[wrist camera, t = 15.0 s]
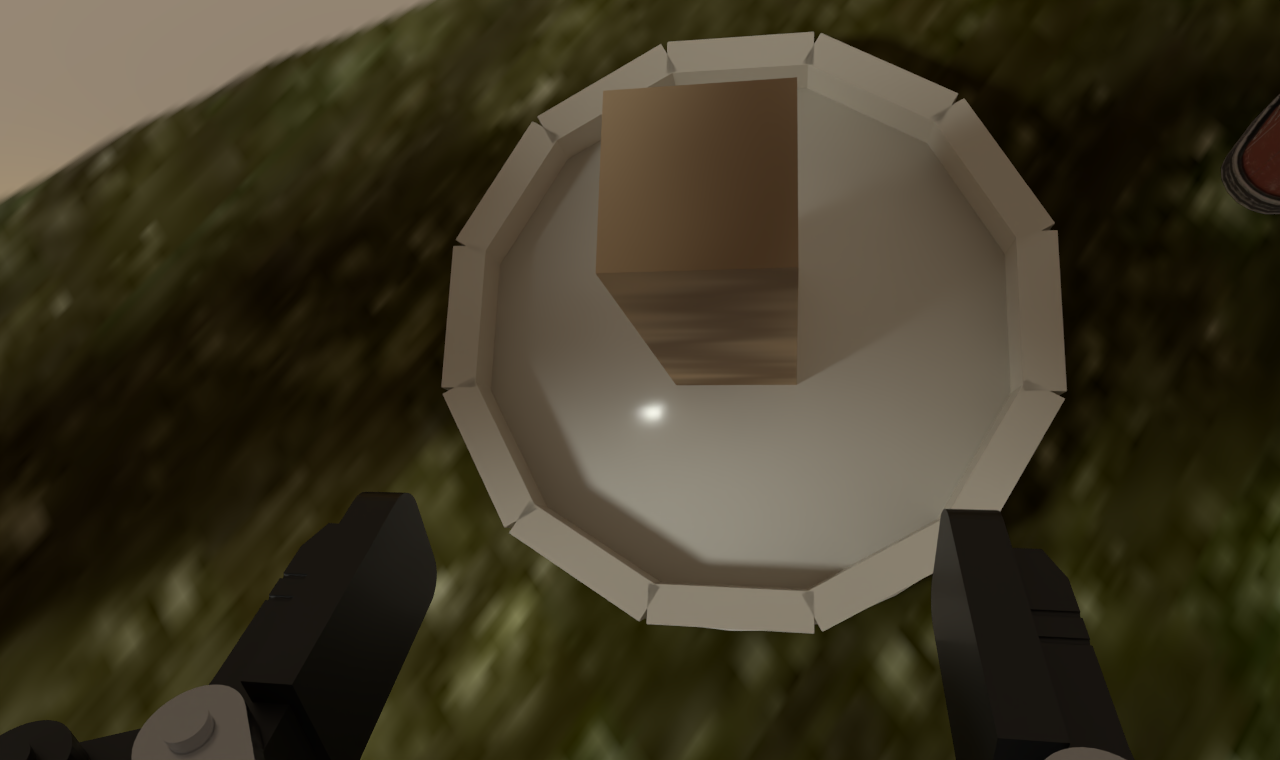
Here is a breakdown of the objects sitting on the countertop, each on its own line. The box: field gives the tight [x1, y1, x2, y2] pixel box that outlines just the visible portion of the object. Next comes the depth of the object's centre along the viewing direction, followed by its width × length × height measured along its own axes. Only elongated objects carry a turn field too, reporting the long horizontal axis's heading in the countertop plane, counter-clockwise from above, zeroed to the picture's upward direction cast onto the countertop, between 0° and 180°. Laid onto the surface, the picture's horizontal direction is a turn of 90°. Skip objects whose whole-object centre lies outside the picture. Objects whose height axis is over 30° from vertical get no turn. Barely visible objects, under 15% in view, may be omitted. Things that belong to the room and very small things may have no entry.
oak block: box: [596, 77, 799, 385], centre depth 23 cm, size 4×4×12 cm
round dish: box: [441, 32, 1067, 634], centre depth 28 cm, size 20×20×2 cm
